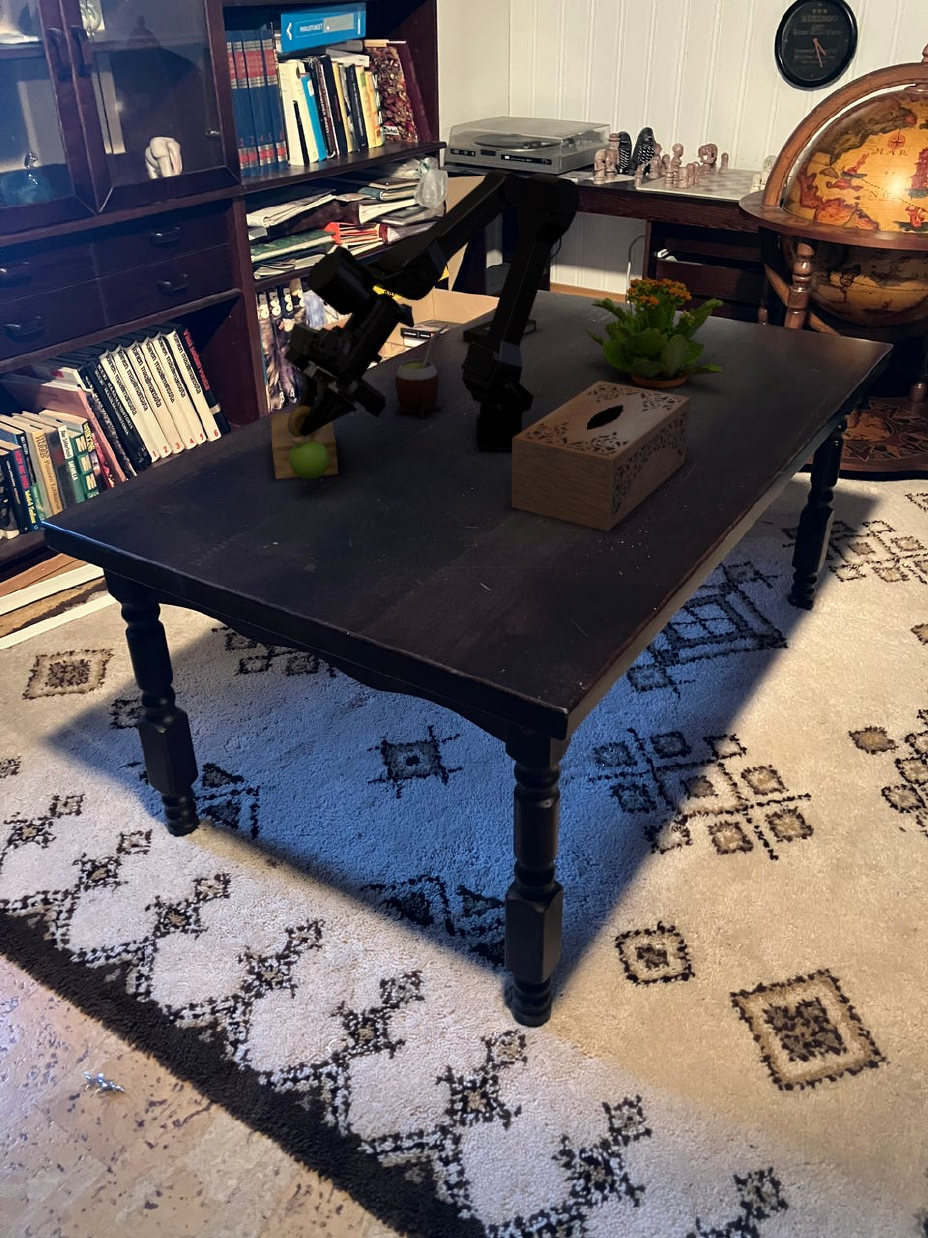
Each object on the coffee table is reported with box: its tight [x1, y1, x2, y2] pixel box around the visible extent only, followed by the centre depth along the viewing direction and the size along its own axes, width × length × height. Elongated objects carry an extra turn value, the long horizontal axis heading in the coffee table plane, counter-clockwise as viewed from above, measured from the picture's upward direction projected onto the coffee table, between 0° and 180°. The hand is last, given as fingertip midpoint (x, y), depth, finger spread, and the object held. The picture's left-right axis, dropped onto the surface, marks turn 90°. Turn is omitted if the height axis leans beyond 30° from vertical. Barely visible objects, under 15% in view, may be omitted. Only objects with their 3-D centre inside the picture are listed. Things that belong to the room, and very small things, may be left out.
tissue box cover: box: [511, 380, 692, 533], centre depth 146 cm, size 26×14×10 cm, turn 148°
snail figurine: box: [287, 397, 329, 480], centre depth 142 cm, size 5×6×12 cm
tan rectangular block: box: [270, 412, 339, 480], centre depth 156 cm, size 9×13×5 cm
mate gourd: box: [394, 324, 449, 419], centre depth 170 cm, size 8×8×15 cm
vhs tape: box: [462, 318, 537, 344], centre depth 208 cm, size 8×14×2 cm, turn 141°
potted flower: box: [583, 276, 725, 389], centre depth 180 cm, size 25×24×18 cm
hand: (298, 432), depth 140 cm, fingers closed on snail figurine
